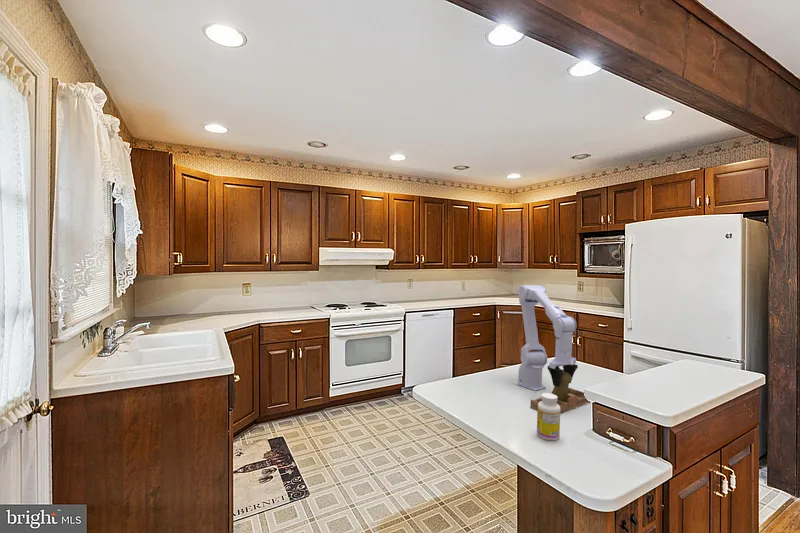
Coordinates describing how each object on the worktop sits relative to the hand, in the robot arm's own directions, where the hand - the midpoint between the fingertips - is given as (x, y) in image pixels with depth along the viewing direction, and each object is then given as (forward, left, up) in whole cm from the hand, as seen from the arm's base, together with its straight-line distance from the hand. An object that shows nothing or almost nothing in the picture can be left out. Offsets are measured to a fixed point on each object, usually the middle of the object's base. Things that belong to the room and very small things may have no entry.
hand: (562, 384), depth 139 cm
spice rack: (0, 0, -8) cm, 8 cm away
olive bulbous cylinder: (-1, 0, -6) cm, 6 cm away
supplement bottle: (+12, -27, -8) cm, 30 cm away
